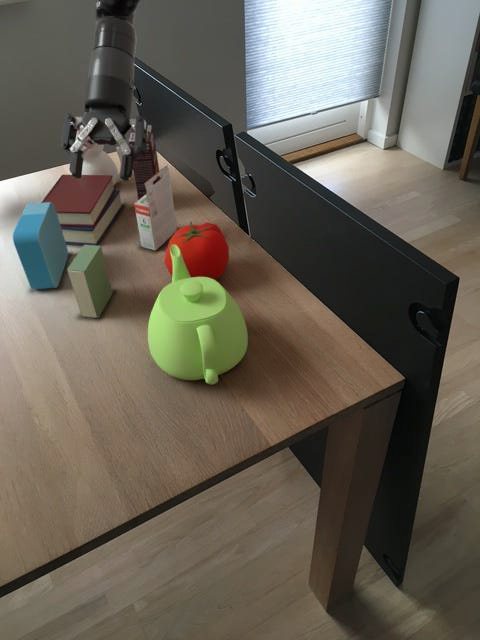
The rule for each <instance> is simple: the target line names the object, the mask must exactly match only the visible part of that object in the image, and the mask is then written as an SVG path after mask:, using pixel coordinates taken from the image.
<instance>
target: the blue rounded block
mask: <svg viewBox="0 0 480 640" xmlns="http://www.w3.org/2000/svg"><path fill="white" fill-rule="evenodd" d="M12 242H13V245H14V248H15V251H16V254H17V256H18V258H19V261H20V265H21V266H22V269H23V272H24V275H25V277H26V279H27V282H28V285H29V287H30V288H31V289H32V290H42V289H53V288H54V289H56V288H58V287H59V285H60V282H61V279H62V275H63V272H64V270H65V266H66V263H67V260H68V255H69V251H68V246H67V244H66V242H65V239H64V236H63V232H62V229H61V226H60V222H59V219H58V216H57V213H56V209H55V206H54V204H53V203H52V202H47V203H41V202H32V203H31V202H30V203H26V205H25V207H24V209H23V212H22V213H21V216H20V217H19V220H18V222H17V224H16V226H15V228H14V230H13V232H12Z"/></svg>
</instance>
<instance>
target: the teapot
mask: <svg viewBox="0 0 480 640" xmlns="http://www.w3.org/2000/svg"><path fill="white" fill-rule="evenodd" d="M170 253H171V257H172V263H173V274H172V276H171V282H170V283H168V284H167V285H165V286H164V287H163V288H162V289H161V291H160V292H159V294H158V296H157V298H156V299H155V302H154V304H153V307H152V309H151V312H150V315H149V320H148V323H147V324H148V326H147V344H148V348H149V353H150V355H151V357H152V359H153V361H154V362H155V364H157V366H158V367H159V369H161V370H162V371H164V372H165V373H166V374H167V375H169V376H171V377H174V378H176V379H179V380H182V381H199V380H205V383H206V384H208V385H215V384H217V383H218V382H219V376H220V375H222V374H224V373H226V372H228V371H230V370H231V369H233V368H234V367H235V366H236V365H238V364H239V363H240V362H241V361H242V359H243V358H244V356H245V355H246V352H247V348H248V345H249V344H248V343H249V335H248V328H247V324H246V321H245V318H244V315H243V312H242V310H241V309H240V307H239V305H238V303H237V302H236V301H235V299H234V298H233V297H232V296H231V294H230V293H229V291H227V290H226V289H225V287H224V286H222V284H220V282H218V281H217V280H214V279H211V278H208V277H192V278H191V277H190V275H189V272H188V270H187V268H186V265H185V263H184V260H183V257H182V254H181V251H180V249H179V248H178V246H177V245H175V244H173V245H171V246H170Z"/></svg>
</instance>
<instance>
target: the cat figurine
mask: <svg viewBox="0 0 480 640" xmlns="http://www.w3.org/2000/svg"><path fill="white" fill-rule="evenodd" d="M83 129H84V127H83V125H81V126H80V130H78V131H77V135H76V140H77V137H78V135H79V134H80V133H81V132H82V131H83ZM89 138H90V137H88V138H87V140H88V139H89ZM75 142H76V141H75ZM104 147H105V144H103V145H98V144H97V143H96V144H95V145H94V146H93V147H92V148H91V149H88V150H87V151H86V153H85V154H84V155H83V156H82V157H83V167H82V175H112V181H113V186H114V187H115V185H116V184H117V183H120V182H121V181H123V180H122V179H121V178H120V171H121V167H120V168H119V169H118V166H117V164H116V162H115V161H114V160H113V158H112V157H111V156H110V154H108V153H107V152H106V151H105V150H104ZM115 151H116V153H117V156H118V158H119V163H120V164H121V162H122V155H123V156H124V152H123V150H122V149H121V147H120V146H116V148H115Z"/></svg>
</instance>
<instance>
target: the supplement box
mask: <svg viewBox="0 0 480 640" xmlns="http://www.w3.org/2000/svg"><path fill="white" fill-rule="evenodd" d="M130 130H131V131H130V135H129V138H128V140H127V141H128V143H129V144H130V146H131V148H132V147H135V131H134V130H133V127H132V126H131V128H130ZM159 171H160V166H159V159H158V152H157V144H156V137H155V130H154V125H153V124H148V127H147V149H146V155H145V156H143V157H142V156H139V157H136V158H135V159H134V164H133V177H134V183H135V189H136V196H137V201H138V200H139V199H141V198H142V197H143V196H144V195H146V189H145V184H144V183H145V182H146V181H148V180H149V179H150V178H151V177H153V176H154V175H155V174H157V173H158V172H159ZM159 179H161V175H160V176H157V178H156V180H154V181H153V184H154V183H156V182H157V181H158V180H159Z"/></svg>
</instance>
